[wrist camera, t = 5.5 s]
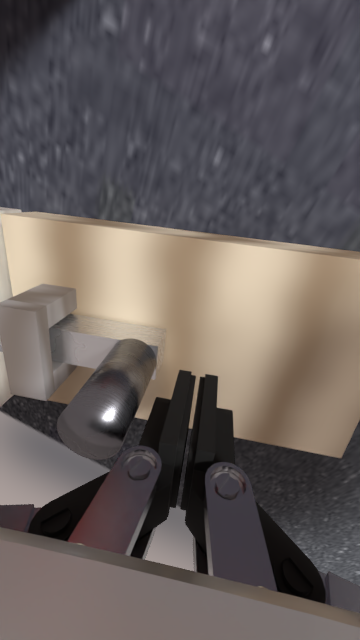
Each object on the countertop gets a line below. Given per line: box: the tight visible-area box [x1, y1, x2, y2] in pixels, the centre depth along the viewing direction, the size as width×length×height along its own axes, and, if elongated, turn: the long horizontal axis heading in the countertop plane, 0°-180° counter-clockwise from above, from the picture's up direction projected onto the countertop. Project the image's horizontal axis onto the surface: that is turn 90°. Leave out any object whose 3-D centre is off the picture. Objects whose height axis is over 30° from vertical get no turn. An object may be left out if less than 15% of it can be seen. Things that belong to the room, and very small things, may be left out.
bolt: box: [0, 314, 166, 460], centre depth 13 cm, size 13×2×7 cm, turn 84°
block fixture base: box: [0, 207, 360, 458], centre depth 16 cm, size 30×12×7 cm, turn 84°
